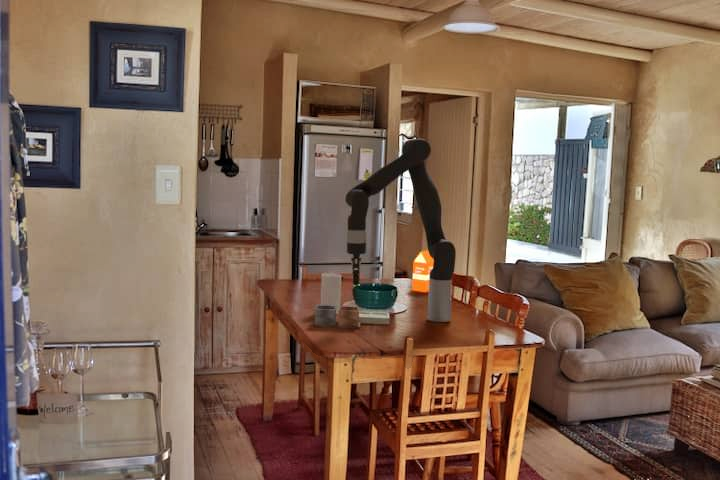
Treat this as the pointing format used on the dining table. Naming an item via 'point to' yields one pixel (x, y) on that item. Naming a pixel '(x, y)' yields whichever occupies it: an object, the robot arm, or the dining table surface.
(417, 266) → the orange juice
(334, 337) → the dining table surface
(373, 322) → the pocket board
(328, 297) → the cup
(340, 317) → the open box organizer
